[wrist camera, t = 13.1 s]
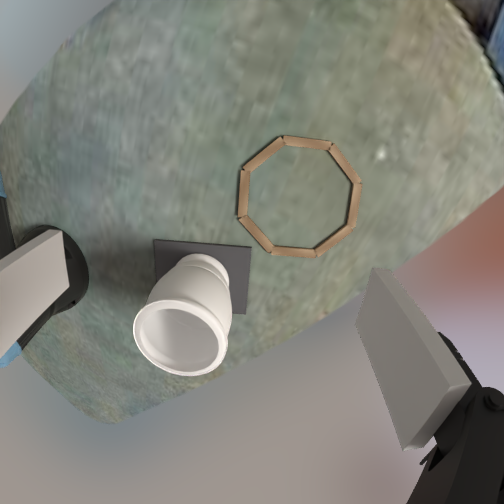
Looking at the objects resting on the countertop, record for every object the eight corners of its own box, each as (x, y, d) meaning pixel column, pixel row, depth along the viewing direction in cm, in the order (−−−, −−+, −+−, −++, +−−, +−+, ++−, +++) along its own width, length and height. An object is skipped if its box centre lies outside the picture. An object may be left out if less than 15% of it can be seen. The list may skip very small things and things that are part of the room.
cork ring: (235, 250, 44) (235, 251, 43) (244, 132, 37) (244, 132, 37) (347, 259, 44) (348, 260, 43) (366, 147, 38) (367, 147, 37)
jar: (153, 268, 44) (114, 326, 30) (207, 232, 42) (183, 282, 28) (195, 319, 48) (176, 387, 34) (250, 289, 45) (247, 356, 31)
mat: (159, 303, 47) (158, 305, 47) (155, 239, 43) (154, 240, 43) (245, 312, 47) (245, 314, 47) (251, 247, 43) (251, 248, 43)
